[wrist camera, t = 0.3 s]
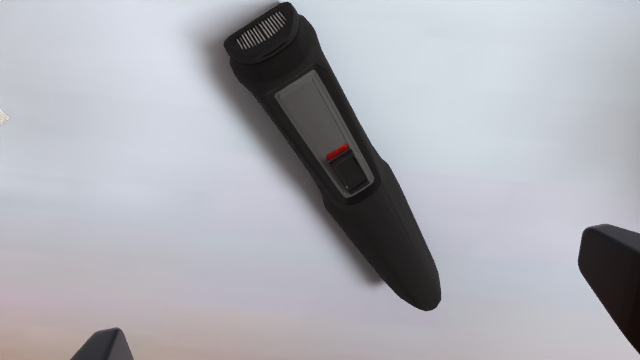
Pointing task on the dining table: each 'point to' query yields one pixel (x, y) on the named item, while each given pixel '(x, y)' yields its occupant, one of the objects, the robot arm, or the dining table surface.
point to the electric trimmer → (334, 148)
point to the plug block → (3, 117)
